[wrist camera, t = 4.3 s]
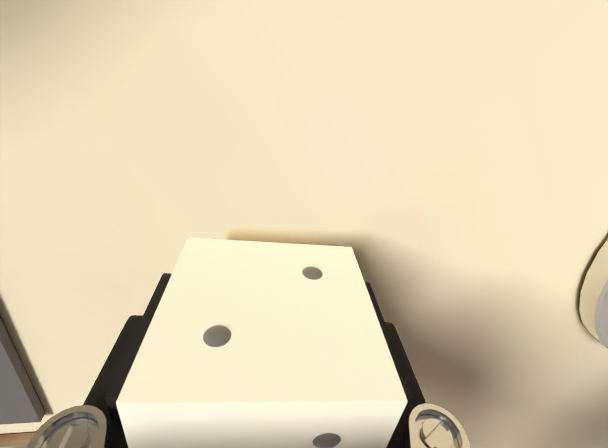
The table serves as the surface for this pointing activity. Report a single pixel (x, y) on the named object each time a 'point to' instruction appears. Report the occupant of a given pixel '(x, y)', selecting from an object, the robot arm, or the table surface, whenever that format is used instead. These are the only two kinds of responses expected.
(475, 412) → the table surface
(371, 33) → the table surface
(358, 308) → the die
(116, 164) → the table surface
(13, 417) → the mat
